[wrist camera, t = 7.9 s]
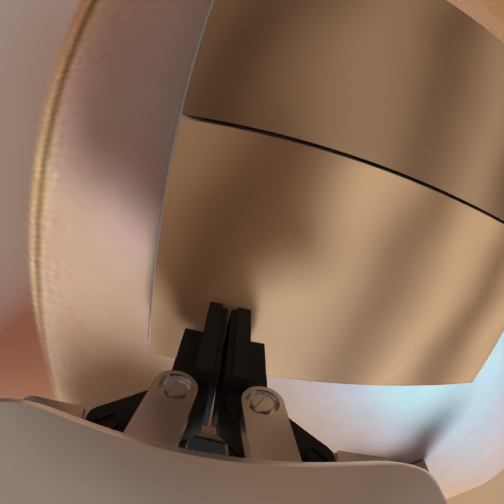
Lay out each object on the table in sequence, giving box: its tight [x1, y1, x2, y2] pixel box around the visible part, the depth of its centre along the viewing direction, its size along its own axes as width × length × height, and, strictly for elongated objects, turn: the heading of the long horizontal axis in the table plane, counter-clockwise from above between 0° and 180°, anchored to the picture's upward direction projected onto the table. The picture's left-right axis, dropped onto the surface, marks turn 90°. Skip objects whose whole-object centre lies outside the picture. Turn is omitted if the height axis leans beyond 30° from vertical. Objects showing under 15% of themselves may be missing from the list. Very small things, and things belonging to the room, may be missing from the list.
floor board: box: [182, 0, 504, 222], centre depth 9 cm, size 20×9×2 cm, turn 77°
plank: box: [149, 119, 504, 386], centre depth 13 cm, size 20×10×2 cm, turn 77°
